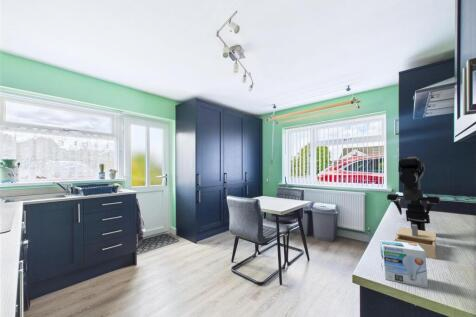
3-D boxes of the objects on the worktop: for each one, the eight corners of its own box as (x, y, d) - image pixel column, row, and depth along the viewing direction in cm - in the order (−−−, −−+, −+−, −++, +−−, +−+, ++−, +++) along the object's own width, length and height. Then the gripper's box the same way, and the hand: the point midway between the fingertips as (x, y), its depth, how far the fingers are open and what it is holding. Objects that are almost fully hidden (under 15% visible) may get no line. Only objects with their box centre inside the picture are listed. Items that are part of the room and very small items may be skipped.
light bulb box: (384, 280, 62) (382, 245, 63) (381, 270, 68) (378, 238, 69) (429, 288, 57) (426, 251, 58) (421, 277, 63) (418, 243, 64)
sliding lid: (400, 228, 96) (399, 218, 97) (436, 234, 87) (435, 222, 88) (396, 234, 88) (395, 223, 88) (435, 241, 79) (434, 228, 79)
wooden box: (400, 242, 92) (399, 232, 92) (436, 249, 83) (435, 238, 83) (396, 250, 83) (395, 238, 84) (435, 259, 75) (434, 246, 75)
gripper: (383, 184, 96) (386, 216, 95) (437, 185, 82) (441, 222, 81) (388, 182, 103) (390, 212, 102) (438, 183, 90) (441, 217, 89)
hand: (413, 216), depth 94 cm, fingers open, 9 cm apart
